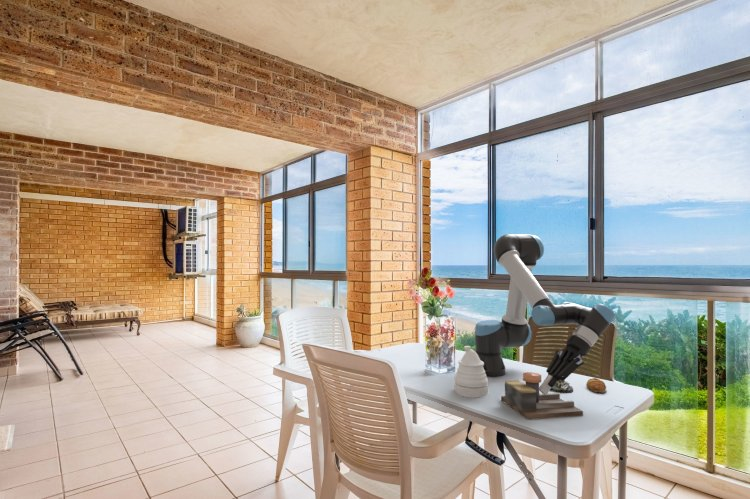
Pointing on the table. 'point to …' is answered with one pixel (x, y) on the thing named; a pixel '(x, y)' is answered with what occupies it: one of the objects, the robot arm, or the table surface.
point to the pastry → (596, 385)
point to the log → (562, 387)
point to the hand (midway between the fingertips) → (541, 392)
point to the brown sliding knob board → (526, 405)
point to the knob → (533, 382)
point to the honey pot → (471, 376)
